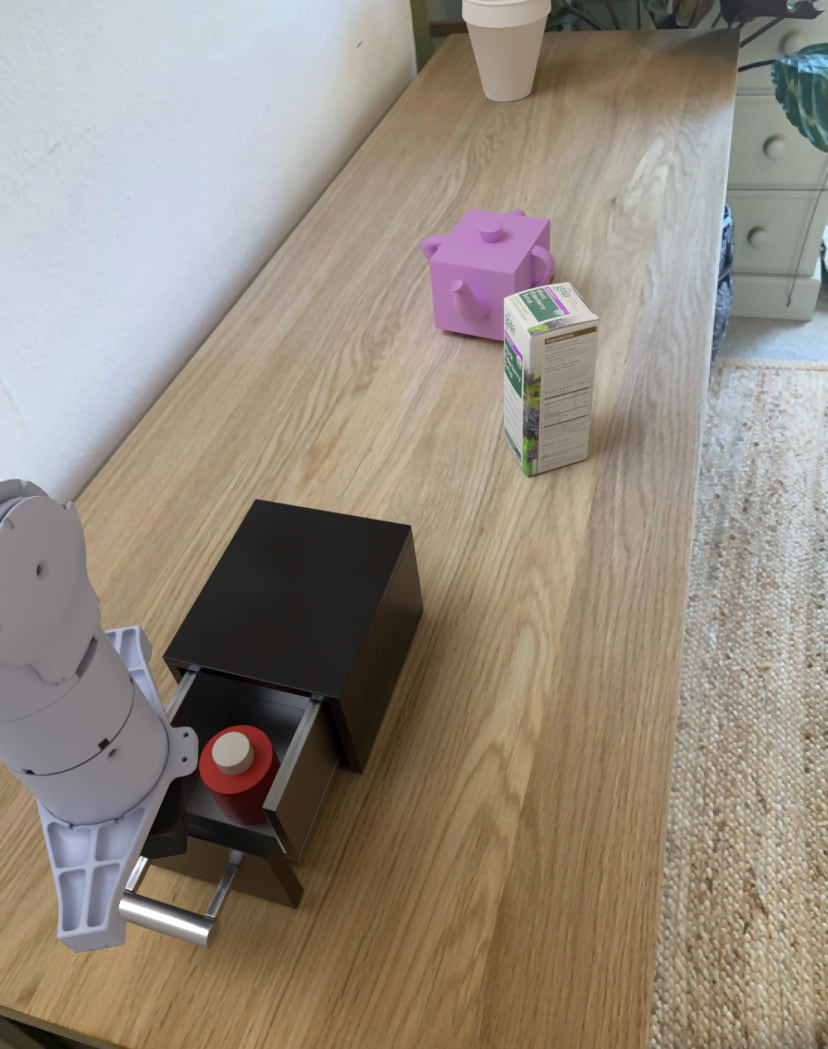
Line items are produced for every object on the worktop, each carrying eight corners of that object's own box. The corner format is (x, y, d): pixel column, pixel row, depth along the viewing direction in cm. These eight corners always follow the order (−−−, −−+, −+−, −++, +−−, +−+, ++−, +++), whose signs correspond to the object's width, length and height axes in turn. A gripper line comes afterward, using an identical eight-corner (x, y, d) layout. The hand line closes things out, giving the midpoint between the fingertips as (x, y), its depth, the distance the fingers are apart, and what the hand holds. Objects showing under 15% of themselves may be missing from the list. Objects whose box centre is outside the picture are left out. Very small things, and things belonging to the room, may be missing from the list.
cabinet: (362, 775, 56) (339, 698, 48) (205, 734, 59) (161, 657, 52) (424, 610, 64) (411, 524, 57) (283, 582, 67) (255, 498, 60)
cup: (543, 109, 121) (545, 1, 111) (458, 109, 123) (452, 4, 113) (554, 74, 128) (557, -30, 118) (474, 75, 131) (470, -27, 121)
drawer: (267, 987, 47) (231, 943, 41) (105, 932, 50) (50, 883, 44) (369, 722, 57) (351, 657, 51) (230, 689, 60) (199, 624, 54)
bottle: (270, 833, 51) (248, 793, 47) (206, 814, 53) (179, 773, 49) (298, 767, 54) (280, 724, 50) (236, 750, 55) (213, 707, 51)
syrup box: (501, 437, 76) (498, 295, 65) (563, 419, 77) (570, 276, 66) (526, 479, 72) (527, 336, 61) (591, 459, 73) (602, 315, 62)
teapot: (518, 383, 81) (518, 290, 73) (387, 356, 85) (374, 266, 78) (577, 281, 91) (582, 191, 84) (457, 262, 96) (452, 175, 88)
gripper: (148, 874, 29) (244, 982, 39) (173, 557, 39) (245, 708, 49) (-57, 909, 29) (92, 1009, 39) (20, 582, 39) (123, 729, 49)
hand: (168, 843), depth 44 cm, fingers closed
